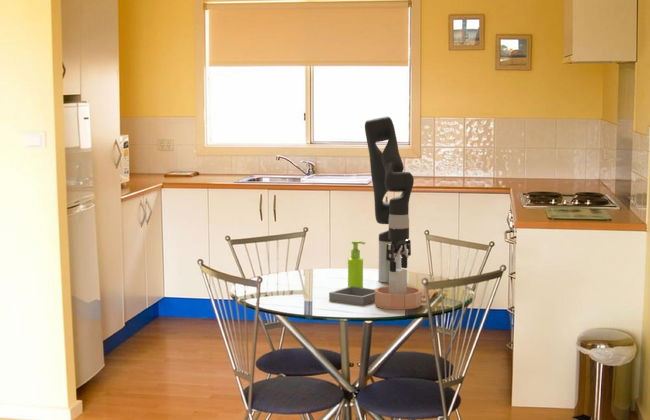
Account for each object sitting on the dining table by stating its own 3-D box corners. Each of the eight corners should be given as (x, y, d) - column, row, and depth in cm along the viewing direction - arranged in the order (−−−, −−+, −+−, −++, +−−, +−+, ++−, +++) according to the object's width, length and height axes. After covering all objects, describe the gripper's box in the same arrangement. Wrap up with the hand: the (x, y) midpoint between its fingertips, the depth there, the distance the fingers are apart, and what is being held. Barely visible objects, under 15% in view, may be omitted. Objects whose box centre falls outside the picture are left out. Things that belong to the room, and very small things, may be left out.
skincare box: (397, 300, 350) (397, 268, 349) (407, 301, 348) (407, 269, 346) (387, 302, 346) (388, 270, 344) (398, 304, 343) (398, 271, 342)
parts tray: (350, 293, 367) (350, 286, 367) (383, 298, 359) (383, 290, 359) (329, 300, 355) (329, 292, 355) (363, 305, 347) (363, 297, 346)
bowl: (389, 298, 359) (389, 284, 358) (429, 303, 349) (429, 288, 349) (366, 306, 345) (366, 291, 344) (406, 311, 335) (407, 296, 335)
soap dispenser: (364, 293, 369) (364, 242, 366) (346, 292, 370) (346, 242, 368) (366, 290, 374) (366, 240, 372) (349, 289, 376) (349, 240, 373)
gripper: (399, 223, 352) (399, 265, 354) (380, 227, 340) (380, 272, 342) (417, 224, 347) (416, 267, 349) (398, 229, 336) (398, 274, 338)
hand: (398, 269), depth 346 cm, fingers open, 8 cm apart
